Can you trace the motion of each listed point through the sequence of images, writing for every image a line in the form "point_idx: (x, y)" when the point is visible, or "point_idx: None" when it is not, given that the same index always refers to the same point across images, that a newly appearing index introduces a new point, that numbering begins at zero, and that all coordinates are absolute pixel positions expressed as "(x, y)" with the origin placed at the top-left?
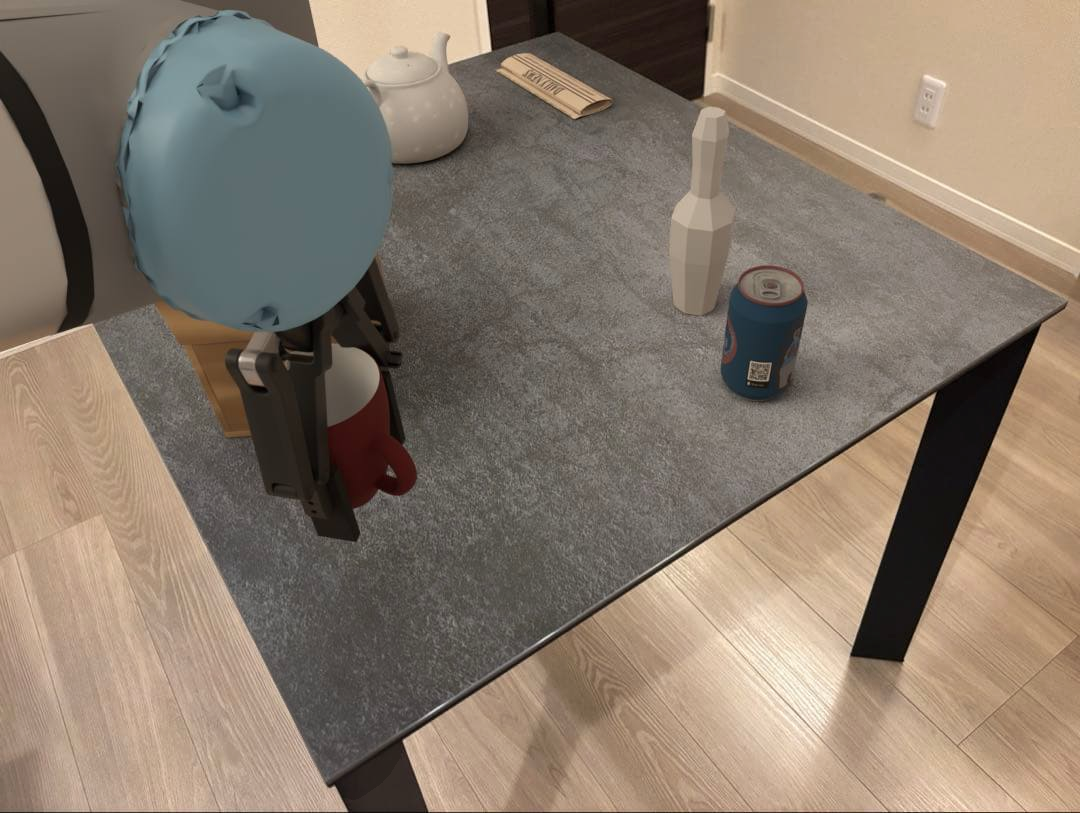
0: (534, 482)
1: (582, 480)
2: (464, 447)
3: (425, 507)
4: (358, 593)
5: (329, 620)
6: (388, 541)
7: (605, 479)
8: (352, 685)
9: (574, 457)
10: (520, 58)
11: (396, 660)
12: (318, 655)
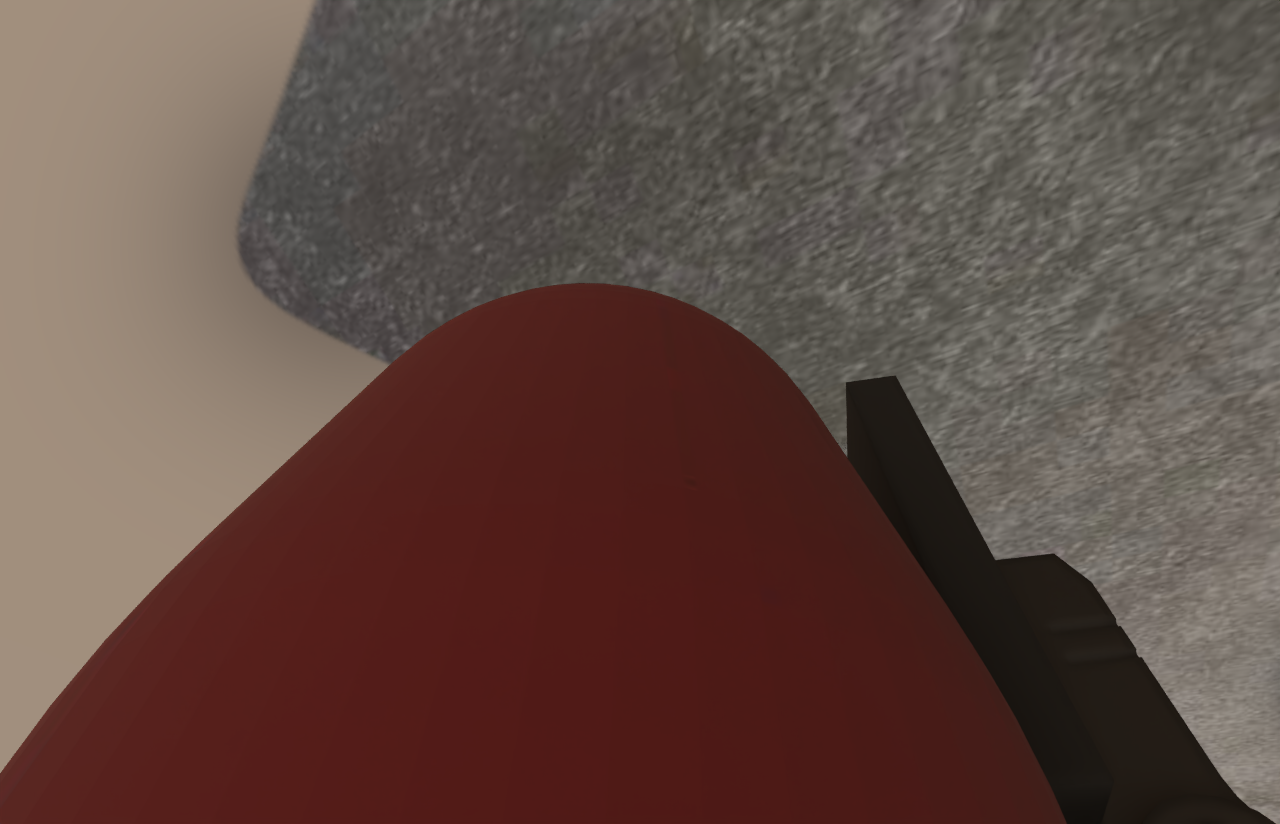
0: (1041, 363)
1: (1055, 452)
2: (1176, 135)
3: (921, 131)
4: (598, 97)
5: (495, 65)
6: (781, 86)
7: (1061, 491)
8: (385, 220)
9: (1131, 417)
10: None
11: (483, 280)
12: (401, 96)
